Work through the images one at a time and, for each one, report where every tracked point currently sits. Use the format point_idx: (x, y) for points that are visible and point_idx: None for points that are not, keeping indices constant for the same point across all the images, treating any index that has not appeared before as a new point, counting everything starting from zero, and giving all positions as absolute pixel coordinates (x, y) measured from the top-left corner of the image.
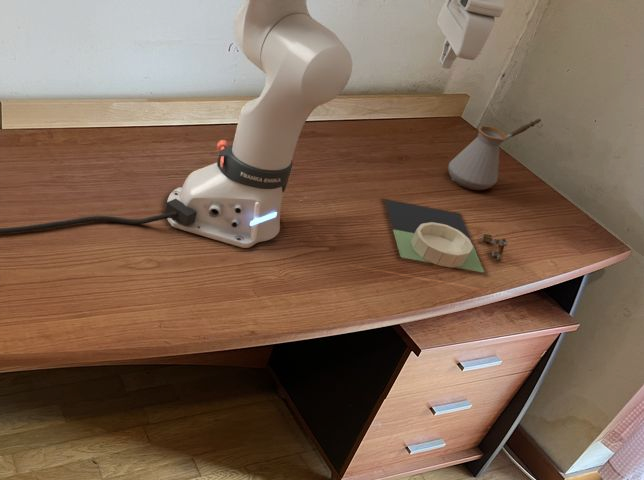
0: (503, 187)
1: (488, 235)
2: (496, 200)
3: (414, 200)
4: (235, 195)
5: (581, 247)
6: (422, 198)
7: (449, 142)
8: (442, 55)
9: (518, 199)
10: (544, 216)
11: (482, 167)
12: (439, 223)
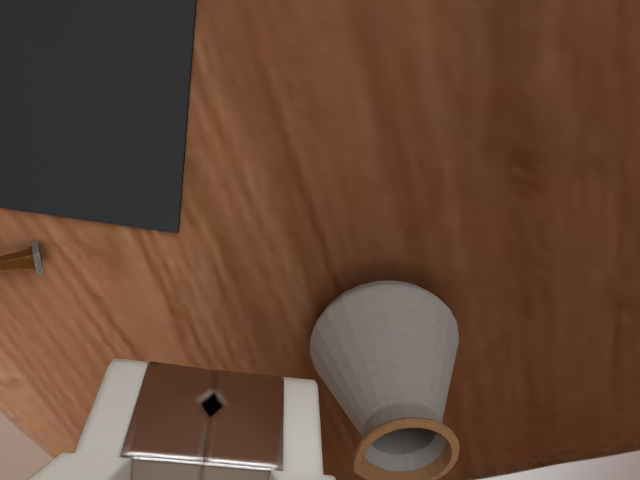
0: None
1: (35, 264)
2: (294, 361)
3: (234, 108)
4: None
5: None
6: (255, 144)
7: (616, 353)
8: (260, 451)
9: None
10: None
11: (333, 367)
12: (87, 141)
